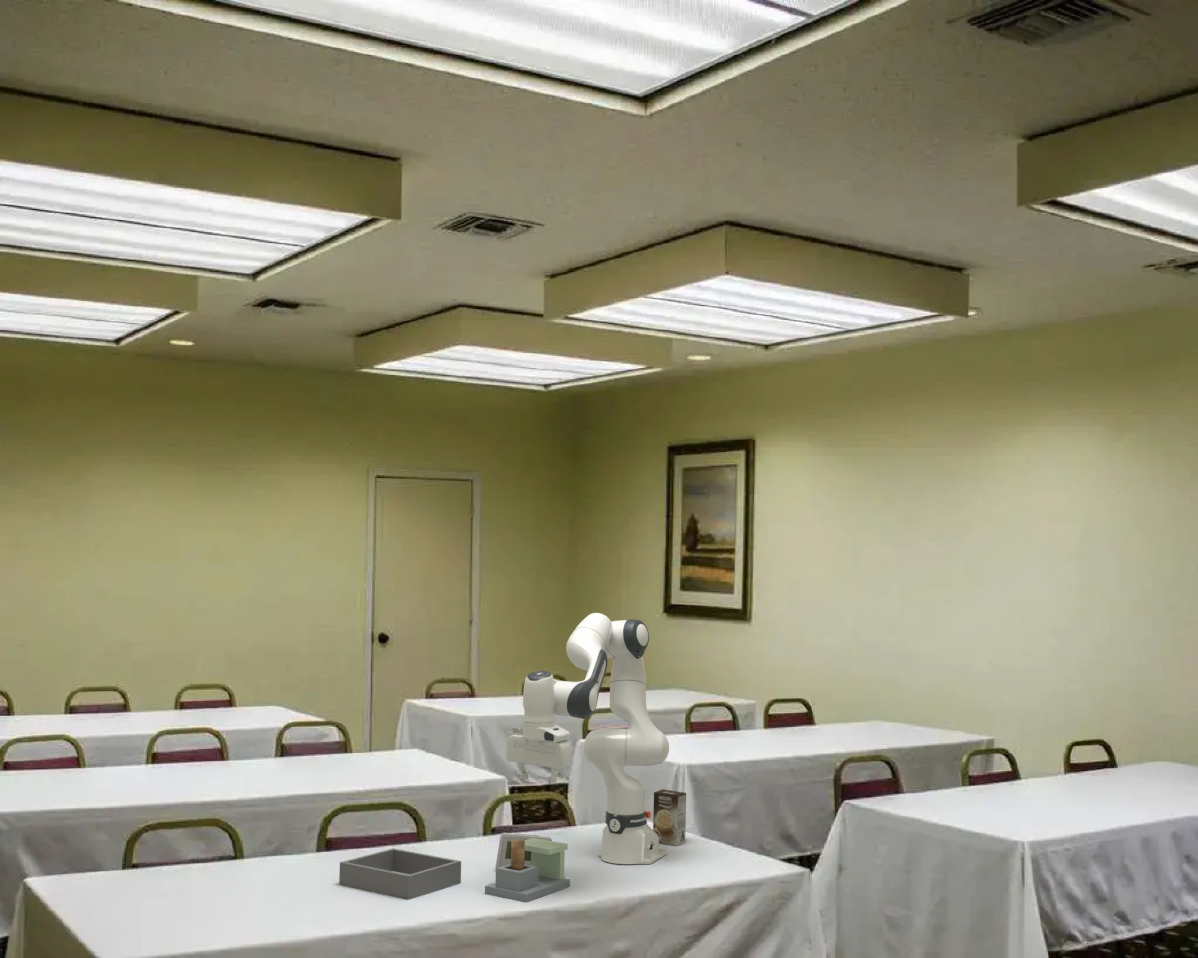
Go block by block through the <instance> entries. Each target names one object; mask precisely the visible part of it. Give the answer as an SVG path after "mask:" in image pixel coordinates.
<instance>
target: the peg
mask: <svg viewBox="0 0 1198 958" xmlns="http://www.w3.org/2000/svg"><path fill="white" fill-rule="evenodd" d="M524 855H525V841H524V840H512V841H511V869H512V870H517V871H520V870H523V869H524Z"/></svg>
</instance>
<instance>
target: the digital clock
mask: <svg viewBox="0 0 1198 958" xmlns="http://www.w3.org/2000/svg"><path fill="white" fill-rule="evenodd" d="M531 838H536V839H542V840H548V841H552V838H551V837H549V836H540V835H534V834H527V833H511V832H501V834H500V838H499V844H498V850H497V855H496V862H495V869H496V868H498V867H501V866H505V865H508V864H511V841H512V840H528V839H531ZM524 864H525V865H531V852H530V851H525V855H524Z"/></svg>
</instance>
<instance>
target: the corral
mask: <svg viewBox="0 0 1198 958" xmlns="http://www.w3.org/2000/svg"><path fill="white" fill-rule="evenodd" d="M461 879H462V860H457V859H454V858H448V857H447V858H446V857H442V856H435V855H431V854H426V853H425V854H424V853H420V852H415V851H409V850H404V849H399V848H394V847H392V848H389V849H385V850H381V851H379V852H375V853H371V854H366V855H362V856H360V857H355V858H352V859H348V860H343V861H340V862H339V878H338V884H339V885H340V886H343V887H345V886H346V887H350V888H354V889H357V890H358V889H360V890H364V891H367V892H372V893H377V894H382V895H386V896H391V897H395V898H400V899H404V900H411V899H414V898H417V897H420V896H424V895H427V894H431V893H434V892H437V891H440V890H443V889H446V888H449V887H452V886H456V885H459V884H461V883H462V882H461V881H462V880H461Z"/></svg>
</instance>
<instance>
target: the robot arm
mask: <svg viewBox="0 0 1198 958" xmlns="http://www.w3.org/2000/svg"><path fill="white" fill-rule="evenodd" d="M649 641H650V634H649V630H648V627H647V625H646V624H645V623H644V622H643V621H642V620H641V619H637V618H636V619H635V618H634V619H633V618H629V619H625V620H624V619H620V620H614V621H613V620H612V621H611V619H610V618H609V617H608V616H607V615H605V614H603V613H600V612H592V613H589V614H588V615H587V616H586V617H585V618H584V619H582V620H581V621H580V623H578V625H577V626H576V627H575V629H574V630H573V632H572V633H571V634H570V636H569V638H568V640H567V642H566V646H565V651H566V655H567V657H568V659H569V661H570V662H571V663H572V664H573V665H574V666H575V667H576V668H579V669H580V670H583V671H585V672H587V673H586V675H585V679H584V680H581V681H568V680H567V681H566V680H557V679H555V678H554V675H553V673H552V672H551V671H547V670H537V671H536V670H535V671H532V672H530V673H528V674H527V675H526V676H525V680H524V683H523V684H524V685H523V694H522V705H523V706H522V707H523V711H524V712H523V717H522V728H517V727H512V728H511V729H510V730H509V731H508V733H507V735H508V736H507V744H506V753H505V757H506V759H507V761H508V762H512V763H516V767H517V768H518V771H519V772H520V779H521V780H528V779H529V771H527V770H526V768H525V766H526V765H530V766H531V765H532V766H538V767H543V768H544V767H545V768H550V769H551V771H550V772H552V774H551V775H550V776H548V777H547V783H548V784H551V785H555V784H556V783H557V776H558V775H559V773H560V771H561V770H566V769H568V768H570V767H571V765H572V764H573V763H572V762H573V761H572V760H573V759H572V757H573V756H572V753H573V752H572V744H571V742H570V741H569V740H570V739H571V732H570V731H569V730H567V729H566V728H563V727H561V726H559V725H558V724H556V723H555V722H556V721H555V720H556V719H555V718H556V717H555V716H563V717H572V718H577V719H581V720H583V719H587V718H589V717H590V716H591V715H592V714H593V713H594V712H595V711H596V709H597V706H598V700H599V694H600V690H601V688H602V686H603V682H604V678H605V677H606V676H605V675H606V672H607V669H608V660H609V659H611V660H612V665H611V671H610V683H609V708H610V709H609V710H610V711H611V712H612V713H613V715H615V716H616V717H618V718H621V719H622V720H624V721H626V722H627V724H629V727H628V728H608V727H607V728H605V727H604V728H600V729H594V730H591V731H590V732H588V734H587V735H586V737H585V739H584V742H583V750H584V751H583V752H584V755H585V757H586V758H587V760H588V761H589V762H590V763H591V764H592V765H593V766H595V767H596V768H597V770H598V771H599V772H600V774H601V775H602V777H603V779H604V782H605V787H606V802H607V803H606V804H607V806H606V807H607V808H606V811H605V816H604V817H605V824H606V826H604V827H603V829H602V835H601V844H600V845H601V847H600V850H599V851H598V852H597V853H598V854H597V855H598V857H600V860H602V861H604V862H605V863H611V864H617V865H639V864H641V865H650V864H653V863H655V862H657V861H658V860H660V859H662V858H663V857H664V856H666V855H667V854H668V853H667V850H665V849H662V848H660V843H659V838H658V835H657V834H656V833H655V832H654V831H653V828H651V826H649V824H648V820H647V819H650V818H651V817H652V812H651V811H650V810H649V811H647V810H644V809H645V788H644V786H643V784H642V783H641V781H639V780H638V779H636V778H634V777H633V776H630V775H629V774H627V773H626V771H625V769H624V767H626V766H629V767H631V766H632V767H650V766H656V765H661V764H663V763H665V761H666V759H667V758H668V755H669V752H670V743H669V741H668V738H667V736H666V735H665V734H664V733H663V732H662V731H661V730H659V729H658V728H657V726H655V724H654V723H653V722H652V720H651V717H650V715H649V712H648V709H647V708H648V707H647V697H646V696H647V694H646V692H647V691H646V690H647V689H646V688H647V678H646V677H647V676H646V668H645V667H646V666H645V661H644V657H643V656H644V654H645V651H646V649H647V648H648V644H649Z"/></svg>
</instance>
